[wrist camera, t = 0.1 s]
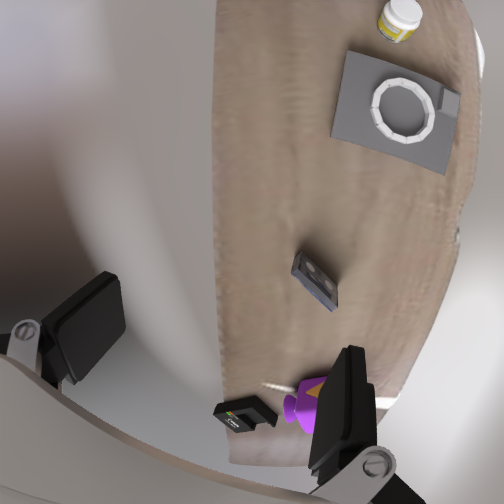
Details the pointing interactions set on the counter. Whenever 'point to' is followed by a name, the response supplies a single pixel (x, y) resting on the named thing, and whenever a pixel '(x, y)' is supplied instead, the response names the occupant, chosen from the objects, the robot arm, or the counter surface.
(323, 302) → the mini dv tape
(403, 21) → the supplement bottle
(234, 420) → the battery charger
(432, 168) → the grey ring holder base
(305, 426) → the toy camera
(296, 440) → the counter surface
